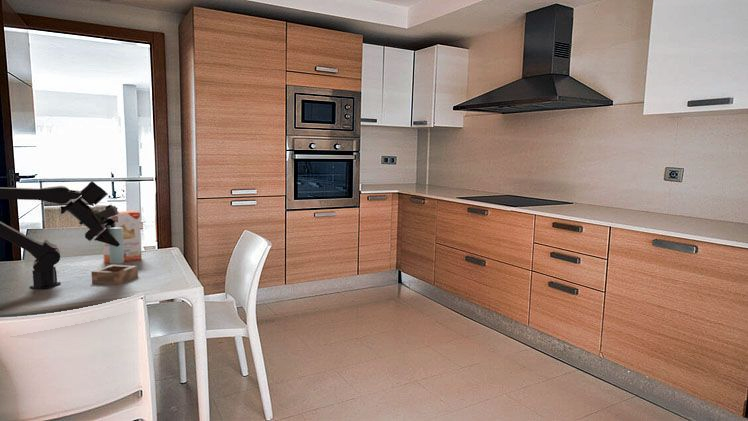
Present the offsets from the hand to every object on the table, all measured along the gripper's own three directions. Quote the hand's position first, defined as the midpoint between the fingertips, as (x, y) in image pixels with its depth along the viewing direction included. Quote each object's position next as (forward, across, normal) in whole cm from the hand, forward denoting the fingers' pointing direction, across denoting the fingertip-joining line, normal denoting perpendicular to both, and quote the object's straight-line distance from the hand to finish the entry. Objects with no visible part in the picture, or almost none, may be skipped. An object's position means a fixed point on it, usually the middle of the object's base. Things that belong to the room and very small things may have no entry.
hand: (120, 244), depth 168 cm
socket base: (+8, +1, +11) cm, 14 cm away
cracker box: (+5, +31, +14) cm, 34 cm away
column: (+4, 0, +6) cm, 7 cm away
